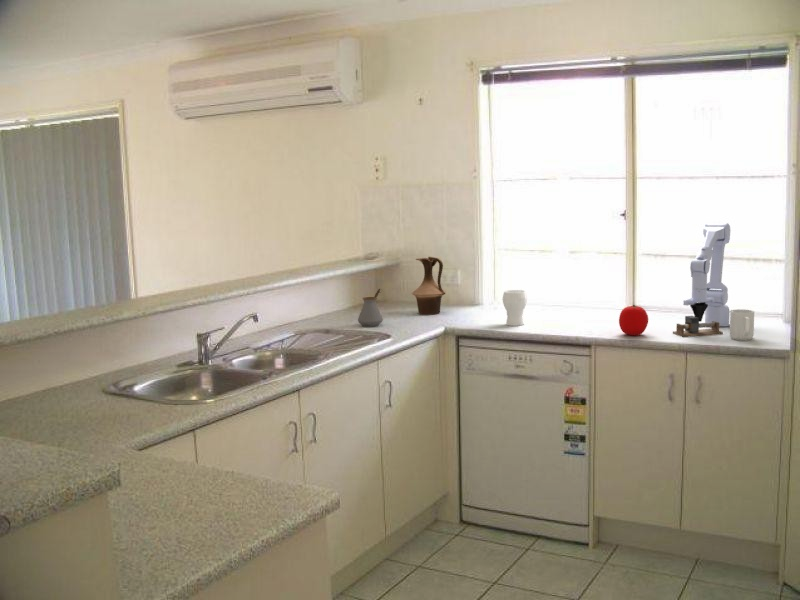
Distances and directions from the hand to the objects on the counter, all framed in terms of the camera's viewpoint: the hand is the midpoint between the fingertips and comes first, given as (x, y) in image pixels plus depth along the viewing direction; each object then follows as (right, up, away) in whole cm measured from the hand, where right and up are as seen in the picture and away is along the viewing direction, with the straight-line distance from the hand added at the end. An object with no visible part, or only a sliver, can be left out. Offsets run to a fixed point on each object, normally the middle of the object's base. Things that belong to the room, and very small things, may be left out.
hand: (698, 321), depth 350 cm
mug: (+13, -7, -13) cm, 20 cm away
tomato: (-26, -6, +3) cm, 27 cm away
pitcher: (-108, +2, +69) cm, 128 cm away
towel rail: (0, -5, +1) cm, 5 cm away
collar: (-3, -4, 0) cm, 5 cm away
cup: (-71, -3, +33) cm, 78 cm away
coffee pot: (-135, -2, +45) cm, 142 cm away
